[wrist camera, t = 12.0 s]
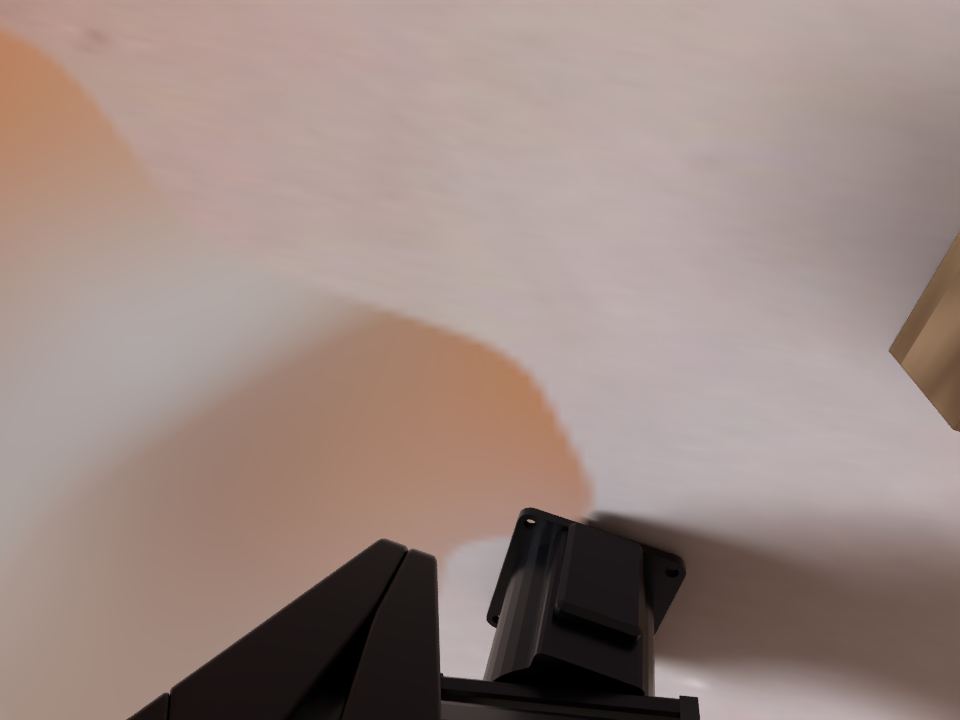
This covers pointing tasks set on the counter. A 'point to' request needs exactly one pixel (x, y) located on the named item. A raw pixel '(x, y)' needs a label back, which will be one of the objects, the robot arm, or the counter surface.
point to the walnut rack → (936, 339)
